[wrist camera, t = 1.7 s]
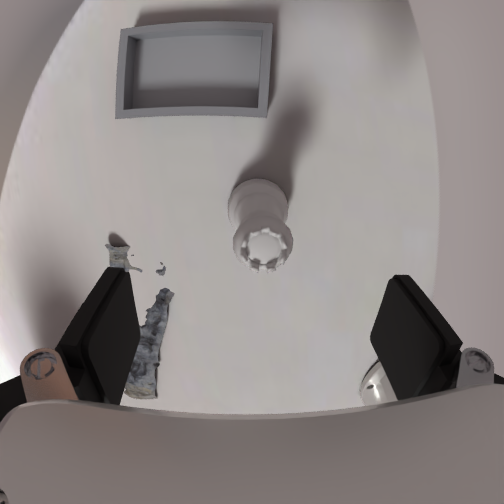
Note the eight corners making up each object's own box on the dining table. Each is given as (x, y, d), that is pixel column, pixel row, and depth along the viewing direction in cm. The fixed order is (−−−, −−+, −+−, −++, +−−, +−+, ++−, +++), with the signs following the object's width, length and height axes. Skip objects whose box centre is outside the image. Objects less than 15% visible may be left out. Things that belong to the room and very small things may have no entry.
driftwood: (157, 399, 34) (154, 411, 32) (106, 384, 33) (102, 396, 31) (185, 256, 26) (181, 268, 24) (112, 236, 24) (103, 246, 23)
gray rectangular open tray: (270, 31, 17) (272, 23, 15) (264, 117, 20) (266, 117, 18) (130, 35, 17) (120, 29, 15) (125, 118, 20) (115, 119, 18)
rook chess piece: (289, 229, 24) (309, 282, 17) (232, 237, 24) (228, 293, 17) (283, 173, 22) (303, 204, 15) (223, 181, 22) (212, 217, 15)
